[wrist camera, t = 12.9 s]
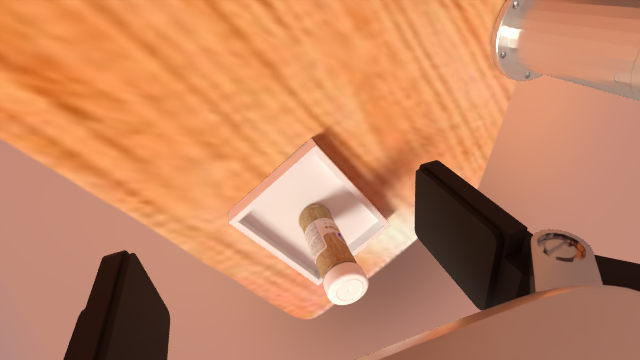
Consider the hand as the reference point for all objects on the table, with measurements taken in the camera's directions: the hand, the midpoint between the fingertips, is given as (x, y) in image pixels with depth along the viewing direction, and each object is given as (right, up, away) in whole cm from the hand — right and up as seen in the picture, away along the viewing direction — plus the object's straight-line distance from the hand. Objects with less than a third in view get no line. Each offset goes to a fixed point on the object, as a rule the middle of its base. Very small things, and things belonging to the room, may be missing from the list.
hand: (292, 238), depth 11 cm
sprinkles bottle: (0, -3, +35) cm, 36 cm away
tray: (0, -3, +36) cm, 36 cm away
